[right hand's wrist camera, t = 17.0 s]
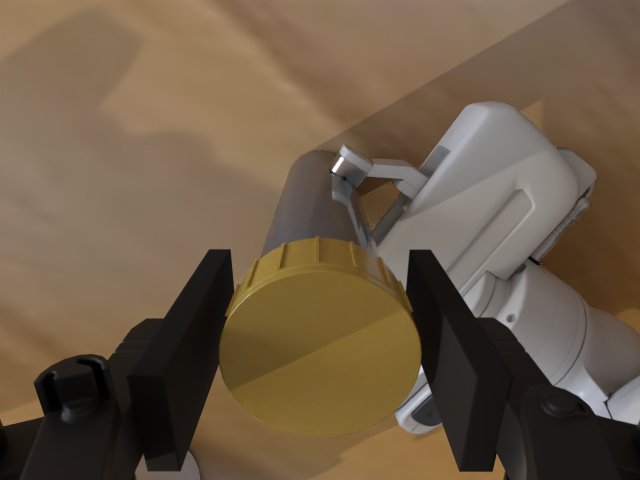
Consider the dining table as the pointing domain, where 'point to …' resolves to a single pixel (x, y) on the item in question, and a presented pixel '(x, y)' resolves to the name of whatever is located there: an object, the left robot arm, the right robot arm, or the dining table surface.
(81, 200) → the dining table surface
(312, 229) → the bottle
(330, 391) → the lid
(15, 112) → the dining table surface
